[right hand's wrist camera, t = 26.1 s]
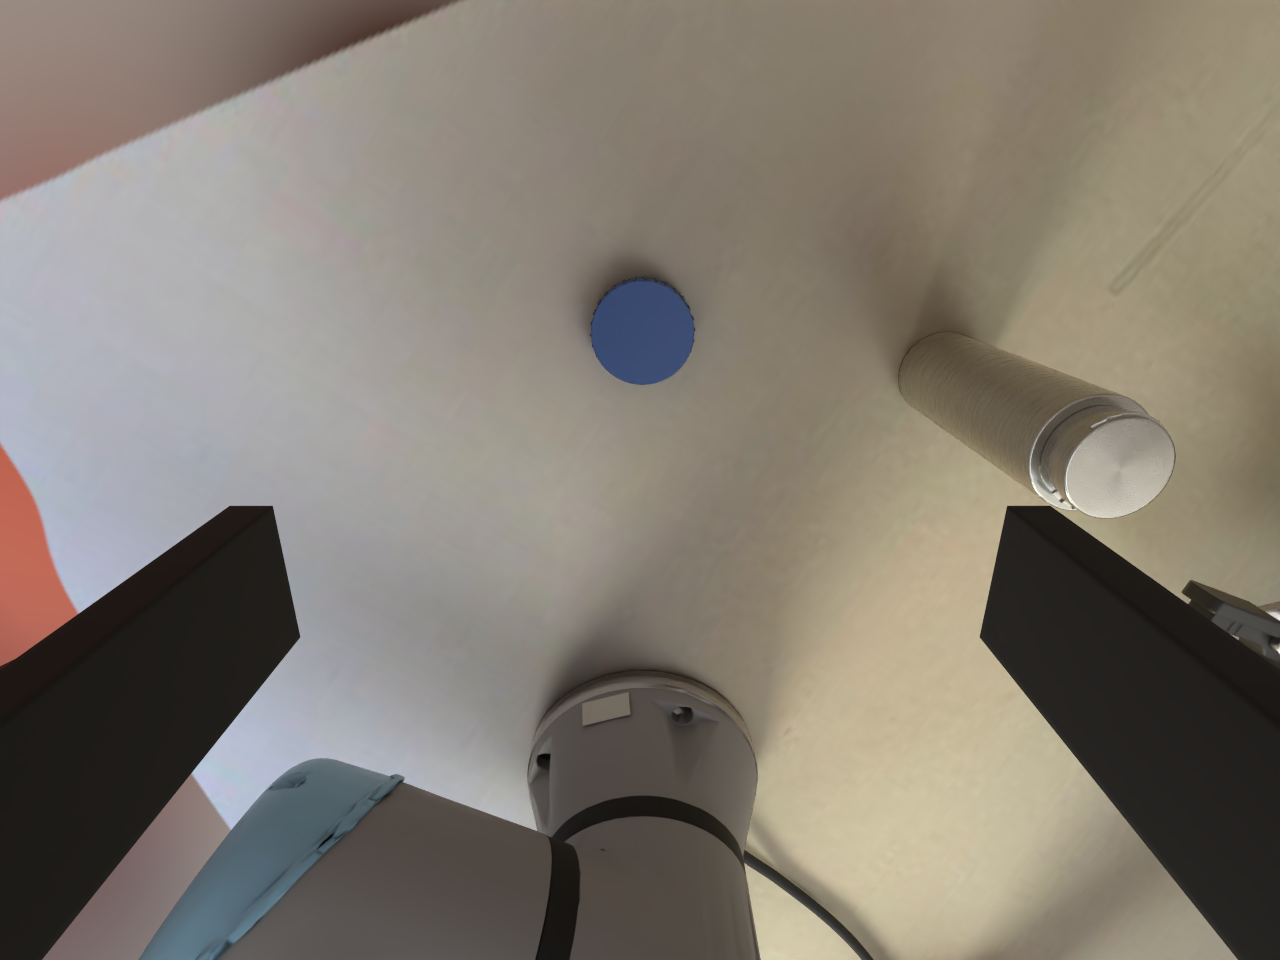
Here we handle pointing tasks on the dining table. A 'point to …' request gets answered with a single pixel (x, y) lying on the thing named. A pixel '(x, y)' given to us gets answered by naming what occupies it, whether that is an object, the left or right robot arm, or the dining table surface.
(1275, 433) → the dining table surface
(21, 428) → the dining table surface
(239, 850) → the right robot arm
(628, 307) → the lid
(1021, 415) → the beige bottle
